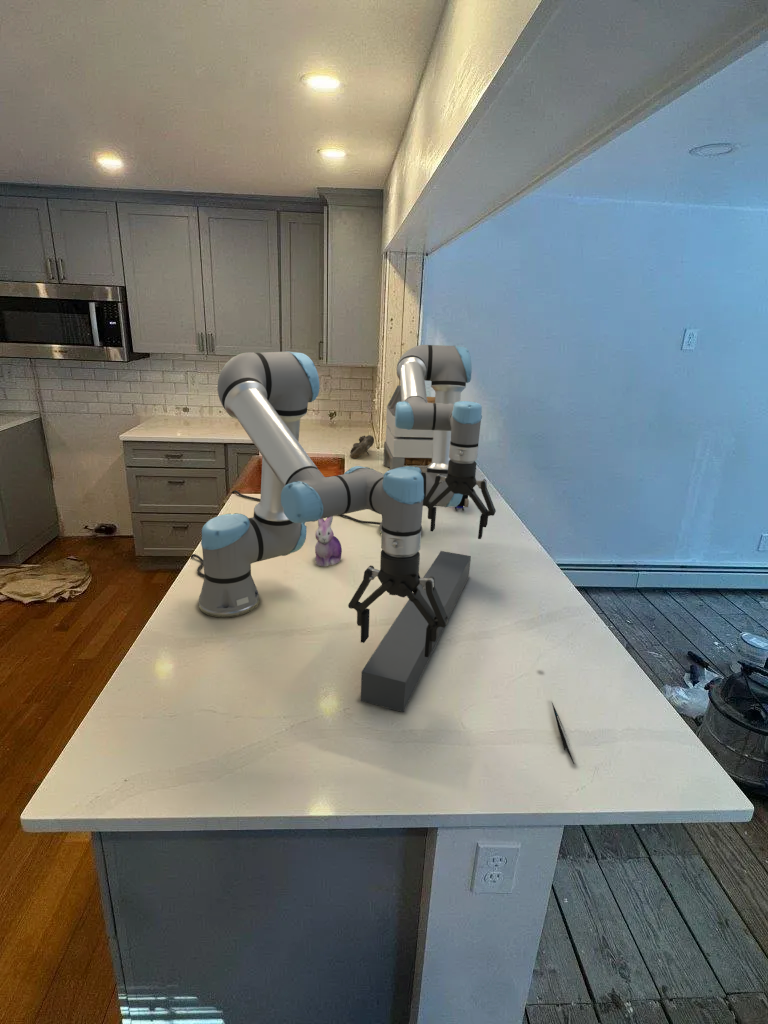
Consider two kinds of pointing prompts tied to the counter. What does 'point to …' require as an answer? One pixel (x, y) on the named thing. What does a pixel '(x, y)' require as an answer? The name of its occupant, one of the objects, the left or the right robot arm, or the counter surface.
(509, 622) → the counter surface
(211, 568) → the left robot arm
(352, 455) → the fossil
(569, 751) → the feather
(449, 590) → the thick board
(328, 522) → the figurine
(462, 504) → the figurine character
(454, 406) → the right robot arm
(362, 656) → the counter surface
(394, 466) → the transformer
